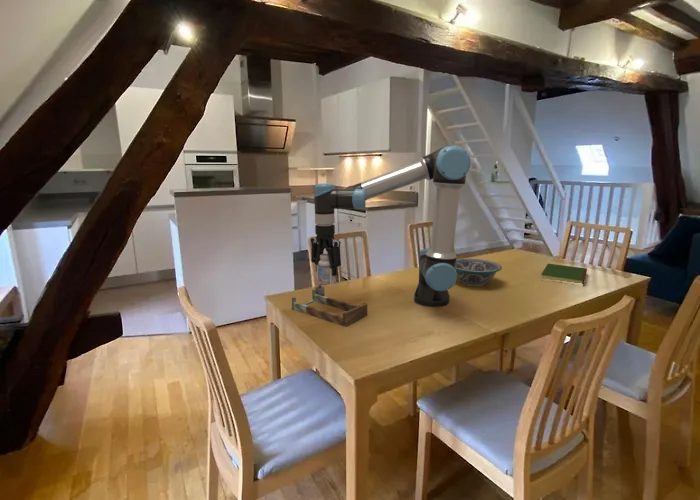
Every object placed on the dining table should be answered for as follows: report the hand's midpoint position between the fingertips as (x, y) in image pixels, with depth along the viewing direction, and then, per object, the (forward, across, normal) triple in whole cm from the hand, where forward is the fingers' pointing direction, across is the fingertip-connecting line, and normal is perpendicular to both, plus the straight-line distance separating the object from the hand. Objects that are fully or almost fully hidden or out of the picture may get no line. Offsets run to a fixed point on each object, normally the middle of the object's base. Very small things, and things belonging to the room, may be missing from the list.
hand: (326, 281), depth 158 cm
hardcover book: (+14, -66, -111) cm, 130 cm away
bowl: (+13, -33, -72) cm, 80 cm away
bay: (+13, -1, -2) cm, 13 cm away
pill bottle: (+1, 0, 0) cm, 1 cm away
